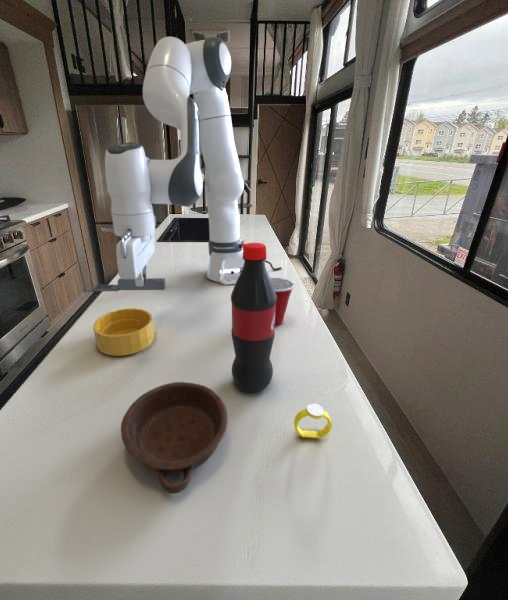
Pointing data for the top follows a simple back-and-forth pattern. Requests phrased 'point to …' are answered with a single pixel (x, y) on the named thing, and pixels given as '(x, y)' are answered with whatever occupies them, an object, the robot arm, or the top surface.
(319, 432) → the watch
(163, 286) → the grey spatula
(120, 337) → the bowl
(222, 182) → the robot arm
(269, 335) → the cola bottle
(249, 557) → the top surface
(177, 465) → the dish
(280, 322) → the plastic cup
